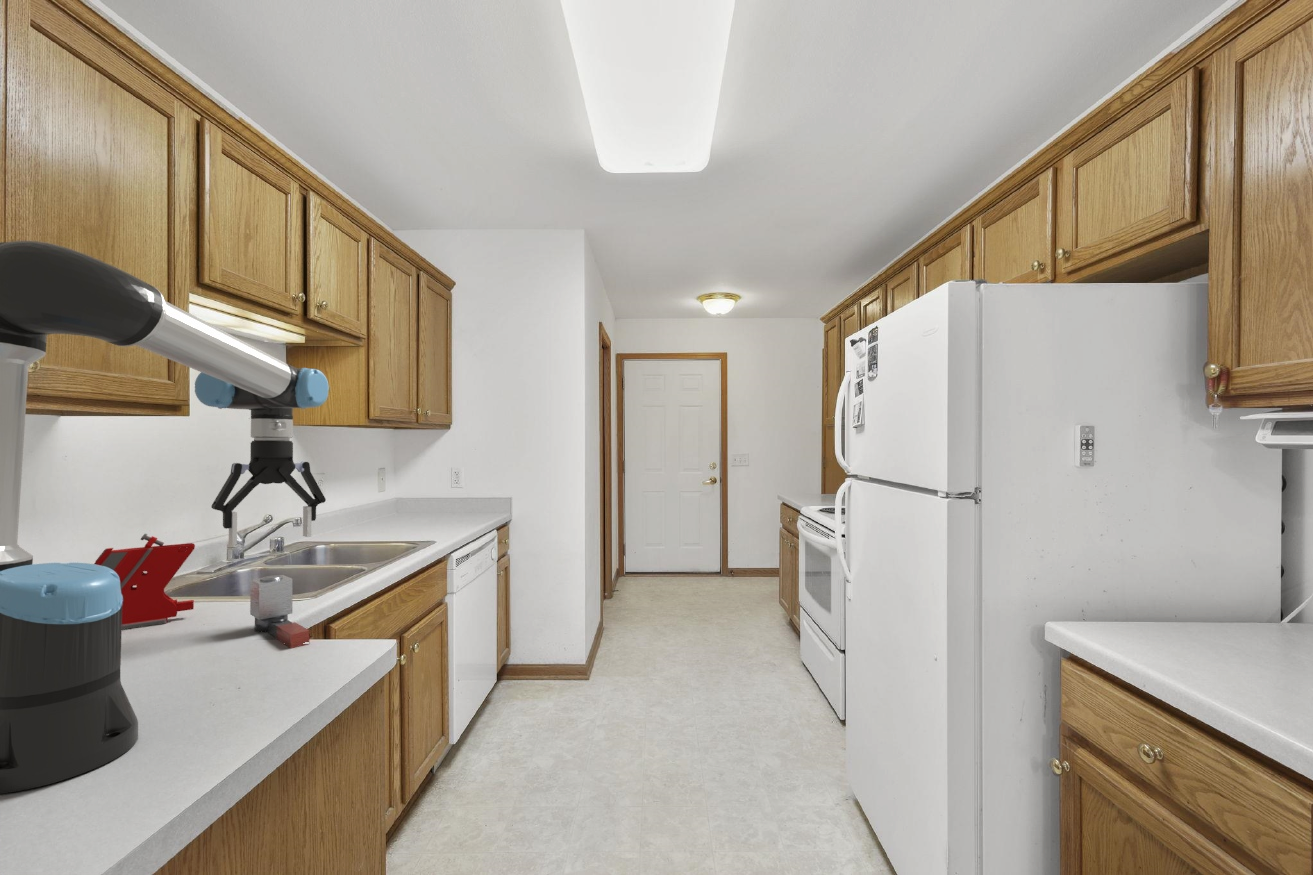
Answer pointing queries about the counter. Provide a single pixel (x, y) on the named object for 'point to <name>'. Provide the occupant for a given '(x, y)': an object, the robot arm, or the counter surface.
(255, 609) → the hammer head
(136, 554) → the tool
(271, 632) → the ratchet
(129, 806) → the counter surface
